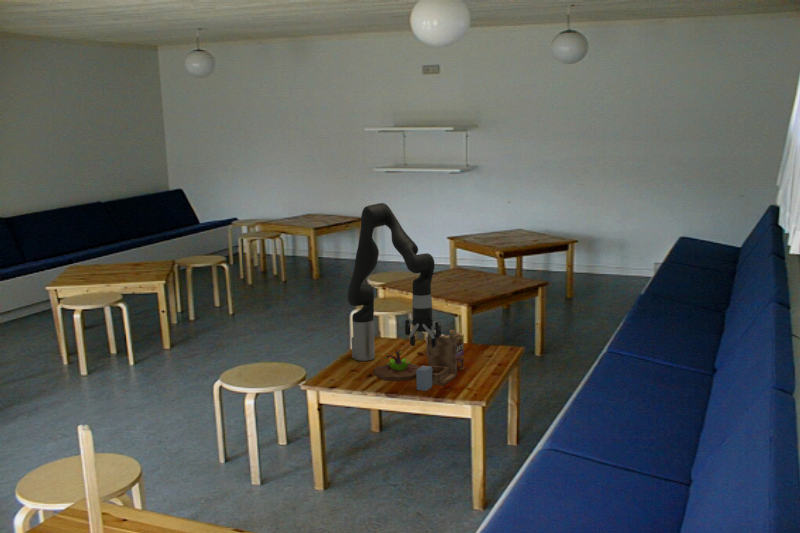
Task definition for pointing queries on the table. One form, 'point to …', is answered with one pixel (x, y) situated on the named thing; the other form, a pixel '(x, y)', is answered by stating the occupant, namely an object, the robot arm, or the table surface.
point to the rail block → (424, 378)
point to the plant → (396, 369)
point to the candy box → (459, 350)
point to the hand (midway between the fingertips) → (423, 346)
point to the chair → (443, 359)
